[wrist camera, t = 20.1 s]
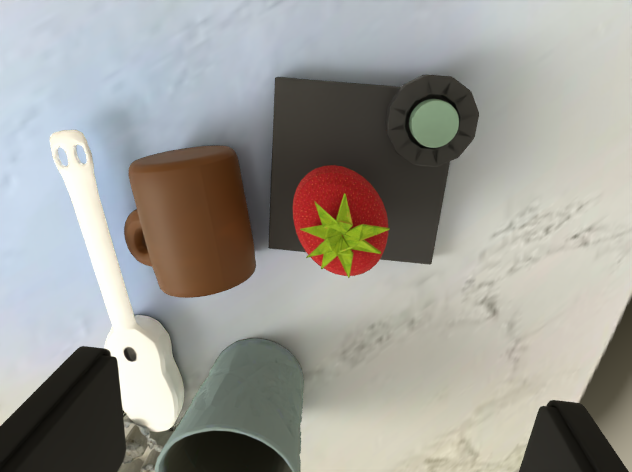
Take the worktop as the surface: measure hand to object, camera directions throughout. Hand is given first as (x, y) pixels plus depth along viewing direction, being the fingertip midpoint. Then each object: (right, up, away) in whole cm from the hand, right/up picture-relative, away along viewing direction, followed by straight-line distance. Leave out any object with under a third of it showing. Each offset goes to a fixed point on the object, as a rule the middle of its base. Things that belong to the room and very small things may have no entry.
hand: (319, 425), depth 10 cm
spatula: (-16, 0, +30) cm, 34 cm away
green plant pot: (-5, -9, +32) cm, 34 cm away
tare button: (+8, +12, +20) cm, 25 cm away
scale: (+3, +9, +25) cm, 26 cm away
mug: (-11, +10, +22) cm, 27 cm away
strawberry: (+2, +7, +24) cm, 25 cm away
